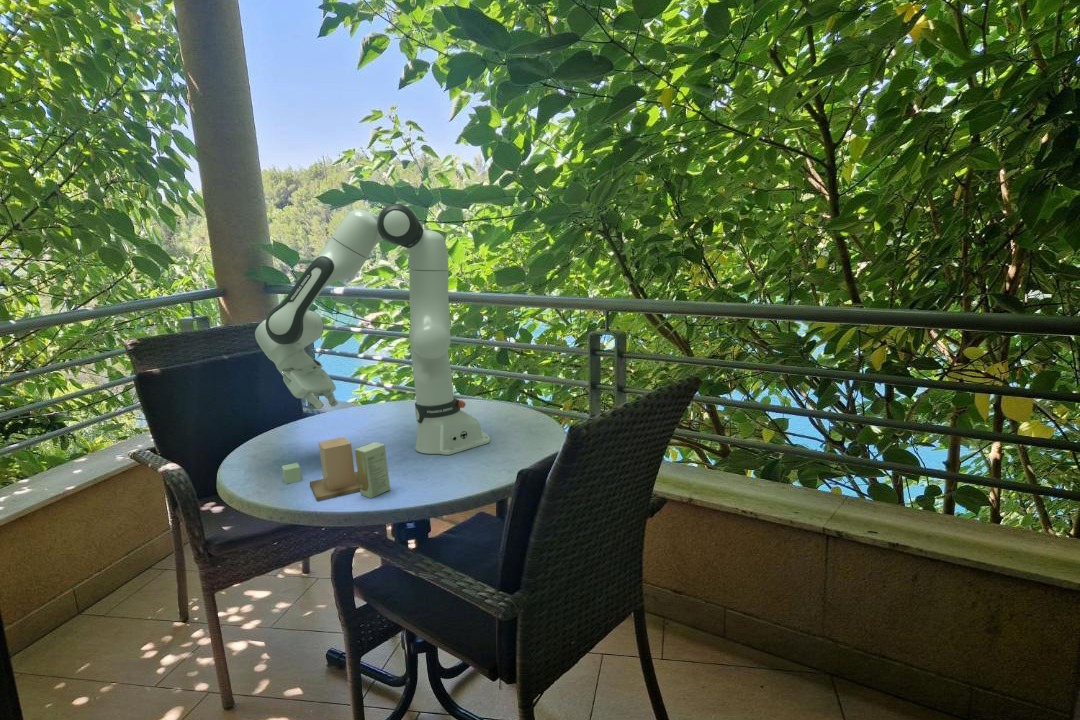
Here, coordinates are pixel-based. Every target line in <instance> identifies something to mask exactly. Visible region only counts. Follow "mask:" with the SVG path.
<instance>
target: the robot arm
mask: <svg viewBox="0 0 1080 720" xmlns="http://www.w3.org/2000/svg"><path fill="white" fill-rule="evenodd" d="M382 241H384V242H387V243H389V244H392V245H394V246H401V247H403V248H405V249H406V250H407V253H408V263H409V266H408V267H409V269H408V271H409V273H408V274H409V280H408V281H409V285H408V286H409V309H410V310H409V311H410V314H409V315H410V326H409V331H408V340H409V347H410V348H409V349H410V356H411V365H412V373H413V381H414V383H413V384H414V392H415V402H414V407H415V408H414V411H415V412H414V414H415V420H416V422H417V427H416V428H417V431H416V442H415V446H414V449H415V451H416V452H418V453H421V454H428V455H436V454H437V455H445V456H448V455H449V456H450V455H453V454H456V453H460V452H463V451H467V450H469V449H473V448H476V447H480V446H483V445H486V444H489V443H490V442H491V438H490V436H489V434H488V433H486V432H485V431H483V430H482V427H481V424H480V422H479V421H478V420H477V418H475V417H474V416H472V414H471V415H470V414H469V413H467V412H465V411H464V410H462V409H464V408H466V405H467V404H466V402H465V401H463V400H459V399H458V398H455V397H454V389H453V375H452V370H451V363H450V356H449V355H450V354H449V348H450V346H451V340H452V339H451V319H450V305H449V304H450V302H449V301H450V300H449V255H448V248H447V243H446V239H445V237H444V236H443V234H441V233H439V232H437V231H435V230H431V229H425V228H423V226H422V224H421V223H420V221H419V218H418V216H417V215H416V213H415V211H414V210H413V209H412V208H410V207H409V206H407V205H405V204H402V203H392V204H389V205H386V206H384V207H383V208H382V209H381V211H380V213H379V214H374V213H372V212H370V211H368V210H366V209H361V208H360V209H359V208H356V209H353V210H352V211H350V212H349V213H348V214H347V215H346V216H345V217H344V219H342V221H341V222H340V223H339V224H338V226H336V229H335V230H334V232H333V234H332V235H331V237H330V238H329V240H328V241H327V243H326V245H325V246H324V248H323V249H322V250H321V252H320V253H319V255H317V257H316V258H315V259H314V260H312V262H311V263H310V264H309V265H308V267H307V268H306V269H305V271H304V272H303V274H302V275H301V277H300V278H299V279H298V280H297V282H296V283H295V284H294V286H293V287H292V289H291V290H290V291H289V293H288V294H287V296H286V297H285V298H284V300H282V302H281V303H279V304H278V305H276V306H275V307H274V308H272V309H271V310H270V312H268V314H267V316H266V318H265V319H264V320H262V321H261V322H260V323H259V324H258V326H257V327H256V329H255V330H254V331H255V332H254V337H255V340H256V343H257V344H258V345H259V347H260V349H261V350H262V352H263V353H264V354H265V356H266V357H267V358H268V359H269V360H270V361H272V362H273V363H274V365H275V367H276V369H277V370H278V372H279V373H280V374H281V376H282V380H283V381H282V382H283V383H284V384H285V385H286V387H287V389H288V390H289V392H290V394H292V396H293V397H295V398H296V399H305V400H306V401H307V402H309V403H310V404H311V405H313V407H314V408H315V409H318V410H319V409H322V407H324V403H323V402H322V400H321V399H319V398H318V397H324V398H325V399H327V401H328V404H329V405H330V408H331V407H332V408H334V407H337V406H338V405H339V401H338V400H337V399H336V396H335V394H334V392H335V391H336V389H337V387H336V384H335V383H334V381H333V380H332V378H331V377H330V375H329V374H328V373H327V372H326V370H324V369H323V364H322V363H321V362H320V361H318V360H316V359H314V358H313V357H311V356H310V355H309V354H308V353H307V352H306V351H305V348H307V347H308V346H310V345H312V344H313V343H315V342H317V341H318V340H319V339H320V338H321V337H322V335H323V333H324V329H325V325H324V320H323V319H322V317H321V316H320V315H319V314H318V313H317V312H316V311H313V310H309V309H310V308H311V306H312V305H313V304H314V302H315V301H316V300H317V298H318V296H319V295H320V294H321V293H322V291H324V289H325V288H326V287H328V286H330V285H331V284H333V283H336V282H339V281H342V280H347V279H349V278H350V279H351V278H352V277H354V276H356V274H358V272H360V270H361V268H363V266H364V264H365V263H366V261H367V260H368V258H369V256H370V254H371V253H372V252H373V250H374V248H375V247H376V245H377V244H379V243H380V242H382Z"/></svg>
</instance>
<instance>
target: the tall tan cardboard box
mask: <svg viewBox="0 0 1080 720" xmlns="http://www.w3.org/2000/svg"><path fill="white" fill-rule="evenodd" d="M318 449H319V455H320V456H319V457H320V463H321V471H322V479H323V480H324V484H325V485H326V487H327V488H328V489H329V491H331V490H335V489H339V488H343V487H347V486H351V485H355V484H356V480H355V472H356V471H355V464H354V457H353V449H352V443H351V442H350V441H349V440H348V439H347V438H346V437H345V436H342V437H338V438H334V439H329V440H325V441H324V440H323V441H319V442H318Z"/></svg>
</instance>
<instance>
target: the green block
mask: <svg viewBox="0 0 1080 720" xmlns="http://www.w3.org/2000/svg"><path fill="white" fill-rule="evenodd" d="M281 469H282V470H281V471H282V478H283V479H282V480H283V482H284V484H286V485H288V484H287V483H290V484H293V483H292V482H294V483H297V481H298V482H302V481H301V480H302V471H301V466H300V464H299V462H294V463H289V464H285V465H282V466H281Z"/></svg>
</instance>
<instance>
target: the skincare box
mask: <svg viewBox="0 0 1080 720" xmlns="http://www.w3.org/2000/svg"><path fill="white" fill-rule="evenodd" d="M354 454H355V455H354V456H355V462H356V467H357V471H358V477H359V484H360V496H364V497H366V498H369V499H373V498H374V497H377V496H379V495H381V494H383V493H385V492H387V491H390V490H391V485H390V477H389V469H388V461H387V453H386V447H385V444H383V443H380V442H376V441H374V442H371V443H368V444H366V445H363V446H360V447H357V448H355V449H354Z"/></svg>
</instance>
